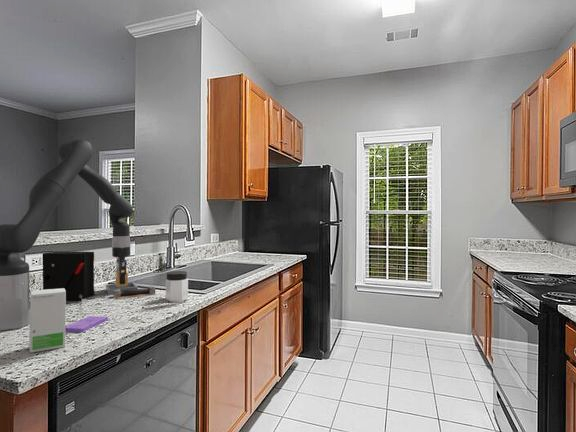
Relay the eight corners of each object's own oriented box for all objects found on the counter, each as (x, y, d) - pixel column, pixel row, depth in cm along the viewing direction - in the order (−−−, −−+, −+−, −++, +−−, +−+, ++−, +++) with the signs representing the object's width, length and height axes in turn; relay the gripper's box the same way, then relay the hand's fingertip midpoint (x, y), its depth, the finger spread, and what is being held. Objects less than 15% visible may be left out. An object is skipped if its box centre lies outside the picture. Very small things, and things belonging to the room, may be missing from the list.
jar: (188, 298, 152) (188, 270, 152) (187, 302, 144) (187, 273, 144) (166, 299, 150) (166, 271, 150) (164, 304, 142) (164, 274, 142)
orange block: (127, 285, 160) (127, 272, 160) (116, 286, 157) (116, 273, 157) (126, 283, 164) (126, 270, 164) (115, 284, 162) (115, 271, 162)
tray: (137, 294, 159) (137, 286, 159) (108, 297, 153) (108, 289, 153) (133, 289, 169) (133, 282, 169) (105, 292, 163) (105, 284, 163)
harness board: (152, 292, 162) (152, 284, 162) (156, 297, 153) (156, 288, 153) (112, 297, 153) (112, 288, 153) (115, 302, 145) (115, 293, 145)
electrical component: (97, 296, 154) (97, 251, 154) (81, 302, 144) (81, 254, 144) (60, 295, 156) (59, 250, 156) (41, 301, 146) (41, 253, 145)
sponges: (61, 332, 110) (61, 327, 110) (89, 320, 123) (89, 315, 123) (82, 334, 109) (82, 328, 109) (108, 321, 122) (108, 316, 122)
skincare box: (29, 353, 93) (28, 295, 93) (29, 346, 98) (29, 290, 98) (66, 346, 98) (66, 290, 98) (65, 339, 103) (64, 286, 103)
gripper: (110, 245, 165) (110, 280, 165) (113, 247, 152) (114, 286, 153) (128, 244, 169) (128, 279, 169) (132, 246, 156) (132, 284, 157)
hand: (121, 282), depth 161 cm, fingers closed on orange block, 5 cm apart
